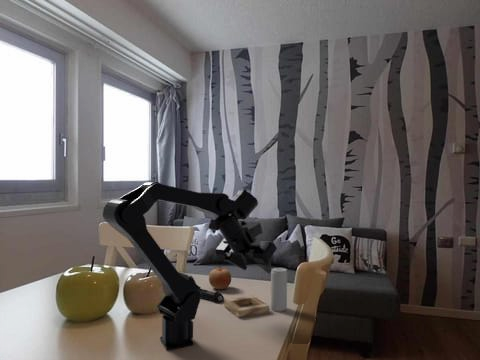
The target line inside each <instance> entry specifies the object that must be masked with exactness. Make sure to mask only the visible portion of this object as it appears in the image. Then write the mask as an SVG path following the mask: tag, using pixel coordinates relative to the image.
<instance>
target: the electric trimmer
mask: <svg viewBox="0 0 480 360" xmlns="http://www.w3.org/2000/svg"><path fill="white" fill-rule="evenodd" d="M199 291H200V293H201V299H206V300H208V301H212V302H214V303H215V304H221V303H224V300H225V297H224V295H223V294H222V293H220V292H219V291H210V290H208V289H203V288H200V289H199Z"/></svg>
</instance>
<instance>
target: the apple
mask: <svg viewBox="0 0 480 360" xmlns="http://www.w3.org/2000/svg"><path fill="white" fill-rule="evenodd" d="M208 283H209V284H210V286H211V287H213V288H214V290H215V289H216V290H225V289H227V288H228V287H229V286H230V285H231V283H232V274H231V272H230V271H229V270H228V269H226V268H221V265H219V267H217V268H215V269H212V270H211V271H210V272H209V275H208Z"/></svg>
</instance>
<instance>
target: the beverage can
mask: <svg viewBox="0 0 480 360" xmlns="http://www.w3.org/2000/svg"><path fill="white" fill-rule="evenodd" d="M287 301H288V269H287V268H284V267H273V268H272V267H271V273H270V309H271V310H272V311H274V312H276V313H277V312H280V313H281V312H284V311H287V309H288V308H287V307H288V306H287V304H288V303H287Z"/></svg>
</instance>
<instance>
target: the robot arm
mask: <svg viewBox="0 0 480 360" xmlns="http://www.w3.org/2000/svg"><path fill="white" fill-rule="evenodd" d="M158 201H160V202H161V201H162V202H167V203H171V204H176V205H177V204H178V205H181V206H187V207H192V208H193V209H195V210H197V211H198V212H201V213H204V214H206V215H211V216H212V215H214V216H216V217H215V218H210V222H209V225H208V229H209V230H213V231H217V232H218V231H219V233H220V234H221V235H222V236H223V238H222V240H221V242H220V243H219V245H218V246H217V247H216V248H215V255H216V257H217V258H218V259H222V260H223V261H225V262H227V263H229V264H232V265H233V266H236V267H238V268H240V269H241V270H244V271H246V270H247V268H248V267H247V265H246V262H245V259H244V258H243V256H245V255H246V254H252V259H253V260H254V262H255V264H256V265H257V266H258V267H259V268H260V269H261V270H263V271H264V272H266V273H267V274H269V275H271V271H272V265H271V264H272V263H271V259H272V257H273V256H274V254H275V253H276V251H277V249H278V248H277V246H276V244H275V241H266V240H265V241H264V240H260V242H259V243H258V244H254V243H255V242H256V241H257V239H256V238H257V237H258V236H259V235H262V234H263V233H264V231H263V228H262V224H261V222H260V221H248V222H247V221H245V220H246V219H247V218H248V217H249V216H250V215H251V214H252V213H253V212H254V210H255V209H256V208H257V207H258V205H259V200H258V199H257V197H255V195H253V194H252V193H250V192H249V191H247V189H245V188H240V189H239V190H237V193H236V194H235V195H234V196H233V197H232V198H231V199H230V197H229V195H228V194H226V193H223V192H208V191H207V192H205V191H204V192H197V191H193V190H190V189H184V188H179V187H176V186H171V185H167V184H162V183H161V182H159V181H145V182H144V183H143V184H141V185H139V186H138V187H137V188H135V189H133V190H131V191H129V192H128V193H125V194H123V195H122V196H121V197H119V198H114V199H111V200H110V201H109V200H108V202H107V203H106V204H105V205H104V208H103V210H102V212H103V213H102V218H103V219H104V221H105V222H106V223H107V224H108V225H109V226H110V227H111V228H113V229H114V230H115V231H117V232H118V233H119V234H121V235H122V236H123V237H125V238H126V239H127V240H128V241H129V242H130V243H131V245H132V246H133V248H135V251H137V253H138V254H139V255H140V256H141V257H142V259H143V260H144V261H145V263H146V264H147V266H148V267H149V268H150V269H151V271H152V272H153V273H154V275H155V276H156V278H158V279H159V281H160V282H161V284H162V285H161V286H162V291H163V294H164V297H163V298H161V301H160V302H159V303H158V304H157V309H158V313H159V314H161V315H162V317H161V319H162V320H161V321H162V322H161V323H162V324H161V336H160V337H159V340H160V342H161V343H162V345H163V346H164V347H165V350H167V351H169V350H173V349H179V348H183V347H189V346H193V345H194V341H193V339H194V322H193V320H195V318H196V315H197V312H198V308H199V305H200V303H201V299H202V298H201V293H200V291H199V289H202V288H201V286H199V285H198V284H197V283H196V281H195V279H194V277H193V276H192V275H190V274H188V273H184V272H182V271H178V270H177V268H176V267H175V266H174V265H173V263H172V262H171V260H170V259H169V257H168V256H167V255H166V253H165V252H164V251H163V250H162V248H161V246H159V244H158V243H157V241H156V240H155V239H154V237H153V236H152V234H151V232H149V230H148V227H147V222H146V217H145V216H144V215H145V214H146V213H148V212H149V211H150V210H151V209H152V207H153V206H154V204H156V202H158Z"/></svg>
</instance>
